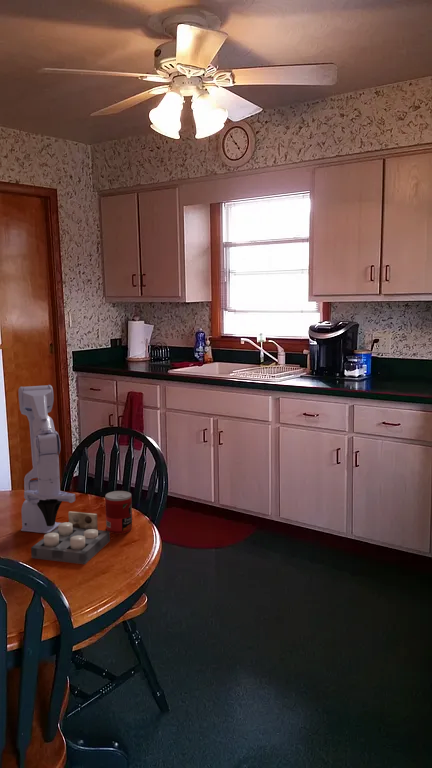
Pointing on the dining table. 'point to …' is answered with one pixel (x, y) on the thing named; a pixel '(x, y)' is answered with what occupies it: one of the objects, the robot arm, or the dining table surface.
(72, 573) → the dining table surface
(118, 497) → the canned food
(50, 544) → the button near left
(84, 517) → the pattern plaque
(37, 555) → the button board
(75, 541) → the button near right
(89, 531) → the button far right
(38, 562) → the dining table surface
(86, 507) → the dining table surface
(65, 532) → the button far left
